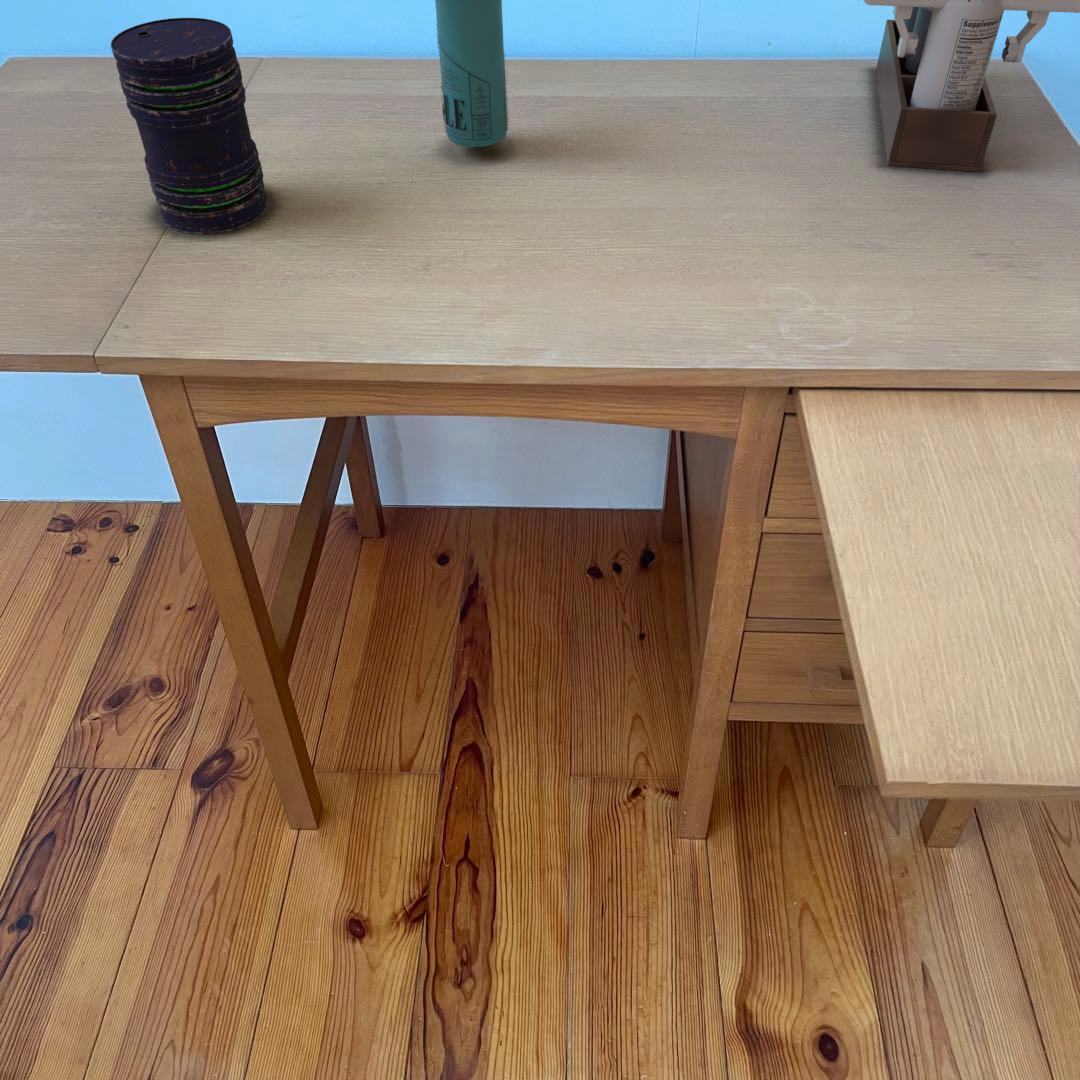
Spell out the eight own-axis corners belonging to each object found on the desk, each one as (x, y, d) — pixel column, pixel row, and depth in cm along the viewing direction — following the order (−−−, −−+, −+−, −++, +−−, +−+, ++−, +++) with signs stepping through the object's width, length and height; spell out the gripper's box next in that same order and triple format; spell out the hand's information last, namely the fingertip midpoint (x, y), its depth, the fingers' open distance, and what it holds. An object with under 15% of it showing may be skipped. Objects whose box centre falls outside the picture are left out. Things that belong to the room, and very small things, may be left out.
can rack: (953, 75, 114) (967, 23, 110) (979, 172, 97) (997, 114, 93) (875, 70, 115) (886, 19, 111) (887, 165, 98) (901, 108, 94)
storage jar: (289, 194, 95) (256, 25, 84) (230, 243, 89) (185, 67, 78) (201, 177, 98) (158, 11, 87) (137, 223, 91) (82, 50, 81)
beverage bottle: (520, 141, 103) (514, -83, 88) (491, 168, 98) (480, -63, 84) (464, 130, 105) (449, -90, 90) (432, 156, 100) (412, -71, 86)
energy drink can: (939, 126, 102) (984, -38, 92) (976, 150, 98) (1027, -18, 88) (888, 135, 101) (928, -30, 90) (924, 160, 97) (970, -10, 86)
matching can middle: (965, 113, 105) (1012, -48, 94) (931, 129, 102) (975, -34, 92) (917, 96, 108) (956, -61, 98) (882, 111, 106) (919, -49, 95)
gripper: (1126, -122, 85) (1069, 50, 95) (876, -127, 88) (846, 41, 98) (1144, -103, 80) (1082, 75, 90) (880, -109, 83) (848, 65, 93)
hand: (957, 57), depth 94 cm, fingers open, 8 cm apart
